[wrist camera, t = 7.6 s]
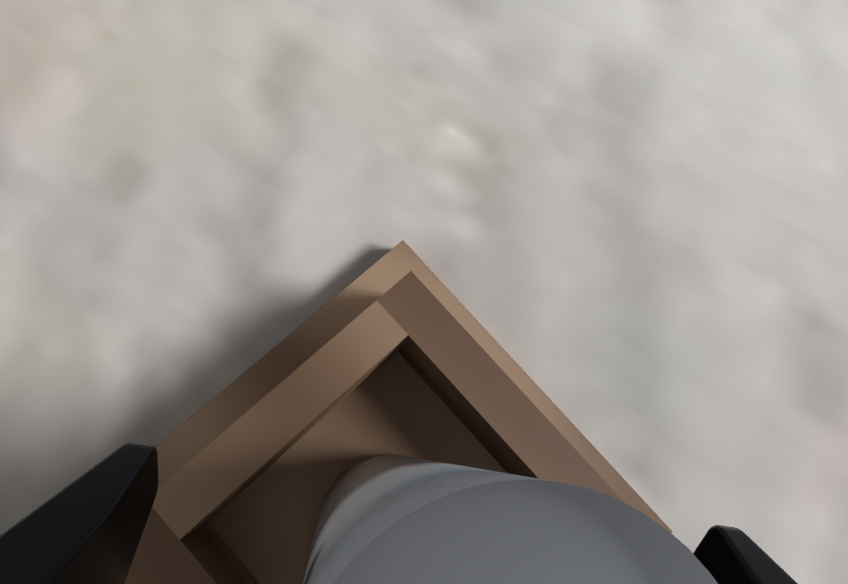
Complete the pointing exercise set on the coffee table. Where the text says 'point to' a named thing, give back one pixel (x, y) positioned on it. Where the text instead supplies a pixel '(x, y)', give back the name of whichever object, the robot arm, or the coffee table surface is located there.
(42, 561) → the robot arm
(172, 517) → the walnut box
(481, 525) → the steel pin
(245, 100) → the coffee table surface
